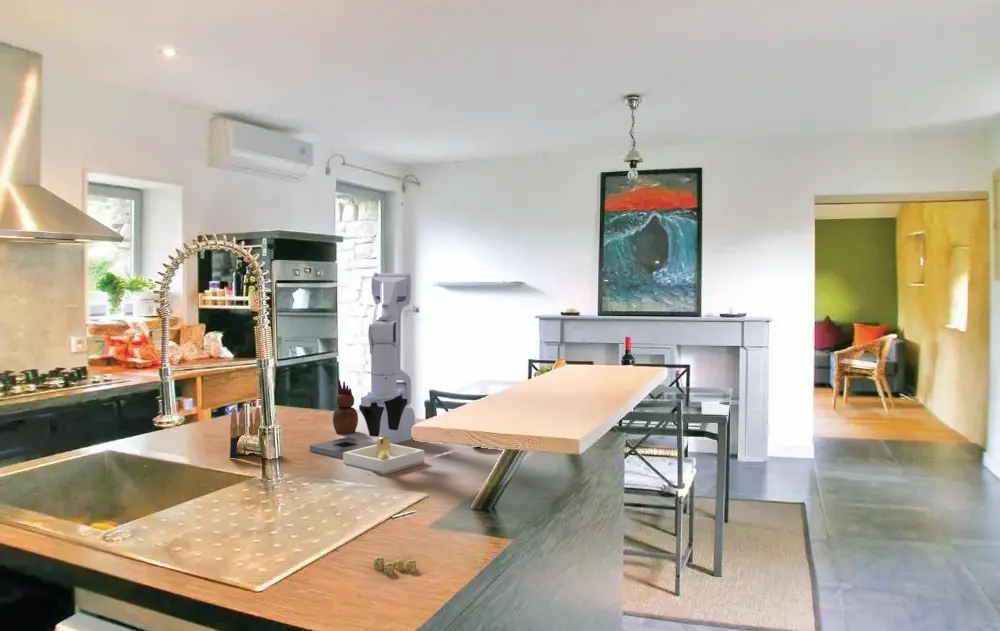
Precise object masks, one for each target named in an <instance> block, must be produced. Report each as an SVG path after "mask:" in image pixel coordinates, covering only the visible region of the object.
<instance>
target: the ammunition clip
mask: <svg viewBox="0 0 1000 631" xmlns="http://www.w3.org/2000/svg"><path fill="white" fill-rule="evenodd" d="M243 411H244V408H243V407H241V408H240V409H239V415H238V416H239V417H238V418H239V419H238V418H237V413H236V409H235V407H233V408H232V410H231V416H230V426H229V427H230V430H229V435H230V440H229V441H230V446H229V447H230V448H229V459H230V458H239V457H249V456H250V457H251V456H259V455H258V454H255V453H249V454H248V456H246V455H245V454H244V453H243V452H241V451H239V448H238V449H237V442H238V440H239V438H240V437H241V436H242V435H244V434H245V426H244V417H245V412H244V413H243ZM276 416H277V415H276V414H275V417H276ZM237 420H238V422H237ZM261 420H262V419H261V412H260V408H259V407H258V406H257V407H256V409H255V413H254V419H253V411H252V409H251V413H250V427H249V434H250V435H252V436H253V435H258V429H259V426H260V423H261V424H262V422H261Z"/></svg>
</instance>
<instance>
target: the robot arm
mask: <svg viewBox="0 0 1000 631" xmlns="http://www.w3.org/2000/svg"><path fill="white" fill-rule="evenodd" d="M411 293H412V276H411V274H410V273H409V272H405V273H403V272H398V273H397V272H391V273H390V272H373V273H372V275H371V295H372V297H373V301H374V303H375V305H376V306H375V307H374V312H373V319H372V323H369V325H368V344H369V345H368V346H369V354H370V380H371V381H370V385H371V386H370V391H368V392H367V394H366V395H364V396H362V397H360V404H359V405H358V409H359V410H360V412H361V414H362V416H363V418H364V421H365V424H366V427H367V431H368V434H369V435H368V436H370V437H375V438H371V440H372V441H375V442H377V437H381V436H387V437H390V443H391V444H397V443H401V442H405V441H409V440H412V436H411V428H412V426H413V425H415V426H416V415H415V411H414V409H413V408H412V406H410V405H411V403H412V382H411V381H412V379H411V376H410V375H409V374H408V373H406V371H404V370H403V369H401V363H402V362H401V355H402V354H401V352H402V350H401V348H402V347H401V346H402V345H401V343H402V339H401V337H402V336H401V334H402V332H401V331H402V328H401V327H402V312H403V309H404V307H407V306H409V305H410V301H411V295H412V294H411Z"/></svg>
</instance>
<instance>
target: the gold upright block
mask: <svg viewBox="0 0 1000 631" xmlns="http://www.w3.org/2000/svg"><path fill="white" fill-rule="evenodd" d="M376 438H377V441H376V443H377V459H382V460H385V459H388V458H390V437H387V436H381V437H376Z"/></svg>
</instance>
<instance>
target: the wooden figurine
mask: <svg viewBox="0 0 1000 631" xmlns="http://www.w3.org/2000/svg"><path fill="white" fill-rule="evenodd" d="M337 382H338V383H337V388H338V389H337V390H338V391H337V393H338V394H337V395H336V396H337V397H336V406H337V407H336V408H335V409H334V410H333V414H332V425H333V428H334V431H335V432H336V433H337V434H339V435H349V434H354V433H355V432H356V430H357V427H358V423H359V415H358V411H357V410H356V408H355V407H353V406H354V404H355V396H354V395H353V392H352V388H351V387H350V388H349V385H346V382H345V381H344V380H343V383H342V384H341V380H340V379H338V381H337Z"/></svg>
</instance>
